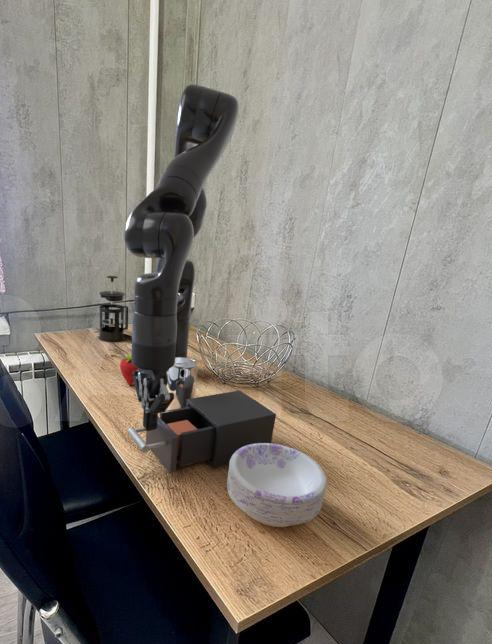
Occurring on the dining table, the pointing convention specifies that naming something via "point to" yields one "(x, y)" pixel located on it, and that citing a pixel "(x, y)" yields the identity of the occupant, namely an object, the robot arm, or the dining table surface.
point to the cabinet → (234, 422)
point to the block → (181, 429)
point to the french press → (109, 330)
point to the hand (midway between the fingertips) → (149, 428)
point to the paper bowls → (276, 484)
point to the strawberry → (127, 369)
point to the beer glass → (182, 381)
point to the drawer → (165, 440)
